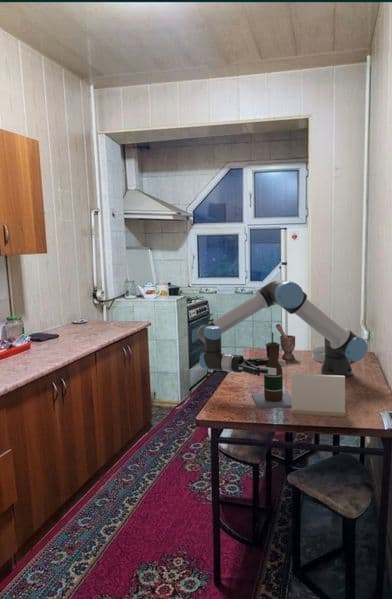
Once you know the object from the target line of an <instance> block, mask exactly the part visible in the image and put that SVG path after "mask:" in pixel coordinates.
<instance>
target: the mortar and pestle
mask: <svg viewBox="0 0 392 599" xmlns="http://www.w3.org/2000/svg"><path fill="white" fill-rule="evenodd" d="M275 328H276V329H277V331H278V332H279V333H280V337H279V339H280V348H281V350H282V351H283V354H282V355H281V360H285V361H286V360H287V361H290V360H292V361H293V360H295V358H296V357H295V355H294V354H293V351H294V350H295V347H296V336H295V335H291V334H290V335H289V334H288V335H287V334H285V332H284V329H283V327H282V325H281V324H280V323H278V324H275Z"/></svg>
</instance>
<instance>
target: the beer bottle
mask: <svg viewBox="0 0 392 599" xmlns="http://www.w3.org/2000/svg"><path fill="white" fill-rule="evenodd" d="M276 343H277V342H276ZM276 343H270V344H269V360H268V363H267V365H264V367H267V368H276V375H268V374H263V385H264V386H263V388H264V389H263V393H264V398H265V399H266V400H267V401H272V402H277V401H281V400H282V398H283V393H284V390H283V389H284V388H283V387H284V383H283V382H284V381H283V378H284V377H283V375H284V373H283V367H281V365H280V364H279V362H278V360H279V359H278V355H277V346H278V345H277V344H276Z"/></svg>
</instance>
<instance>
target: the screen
mask: <svg viewBox="0 0 392 599" xmlns="http://www.w3.org/2000/svg"><path fill="white" fill-rule="evenodd" d="M291 397H292V407H291V414H292V415H304V416H306V415H308V416H309V415H310V416H321V417H322V416H323V417H324V416H325V417H326V416H327V417H338V418H340V417H341V418H345V417H346V377H345V376H341V375H323V374H314V373H313V374H308V373H291Z"/></svg>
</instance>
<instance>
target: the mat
mask: <svg viewBox="0 0 392 599" xmlns="http://www.w3.org/2000/svg"><path fill="white" fill-rule="evenodd" d="M251 396H252V398H253V401H254V402H255V404H256V407H257V409H274V408H292V395H291V394H290V393H289V392H283V398H282V400H281V401H277V402H272V401H267V400H266V399H265V398H264V392H263V393H252V394H251Z"/></svg>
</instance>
